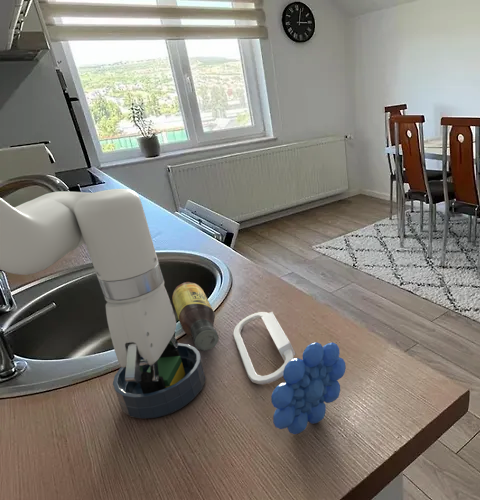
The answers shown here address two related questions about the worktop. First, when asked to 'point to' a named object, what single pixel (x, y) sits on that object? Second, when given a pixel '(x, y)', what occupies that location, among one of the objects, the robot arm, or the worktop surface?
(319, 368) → the blue flower ornament
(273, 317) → the oval loop handle
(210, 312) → the sauce bottle
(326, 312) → the worktop surface
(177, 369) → the sponge
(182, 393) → the bowl
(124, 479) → the worktop surface
